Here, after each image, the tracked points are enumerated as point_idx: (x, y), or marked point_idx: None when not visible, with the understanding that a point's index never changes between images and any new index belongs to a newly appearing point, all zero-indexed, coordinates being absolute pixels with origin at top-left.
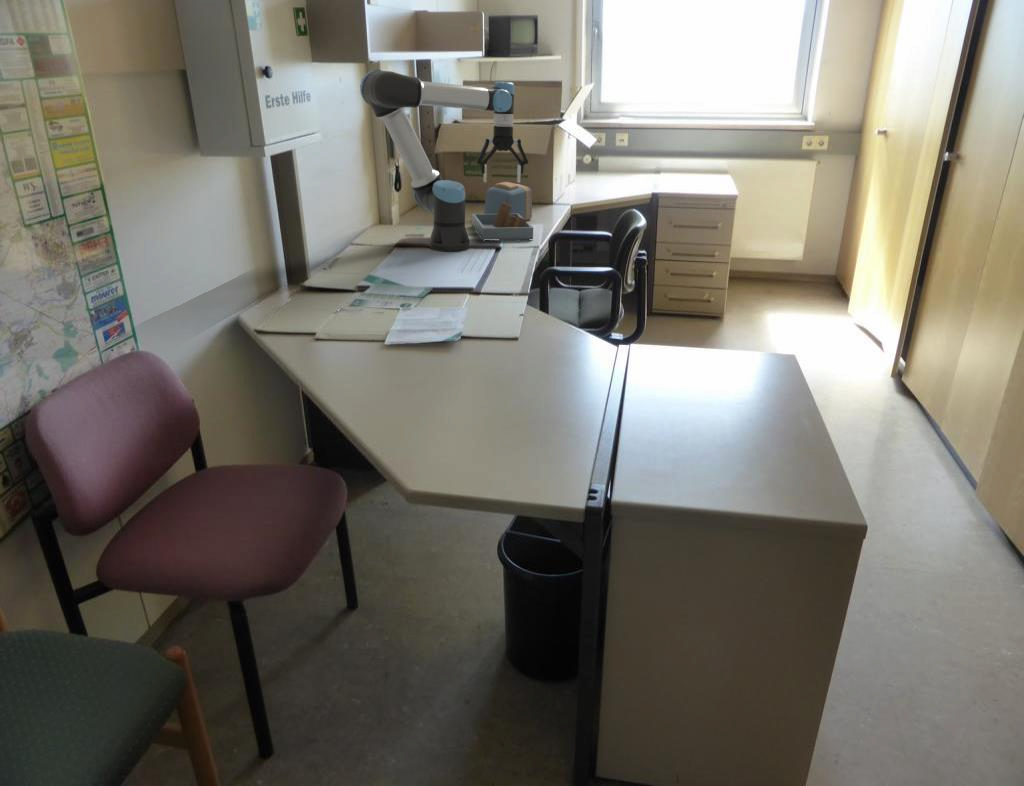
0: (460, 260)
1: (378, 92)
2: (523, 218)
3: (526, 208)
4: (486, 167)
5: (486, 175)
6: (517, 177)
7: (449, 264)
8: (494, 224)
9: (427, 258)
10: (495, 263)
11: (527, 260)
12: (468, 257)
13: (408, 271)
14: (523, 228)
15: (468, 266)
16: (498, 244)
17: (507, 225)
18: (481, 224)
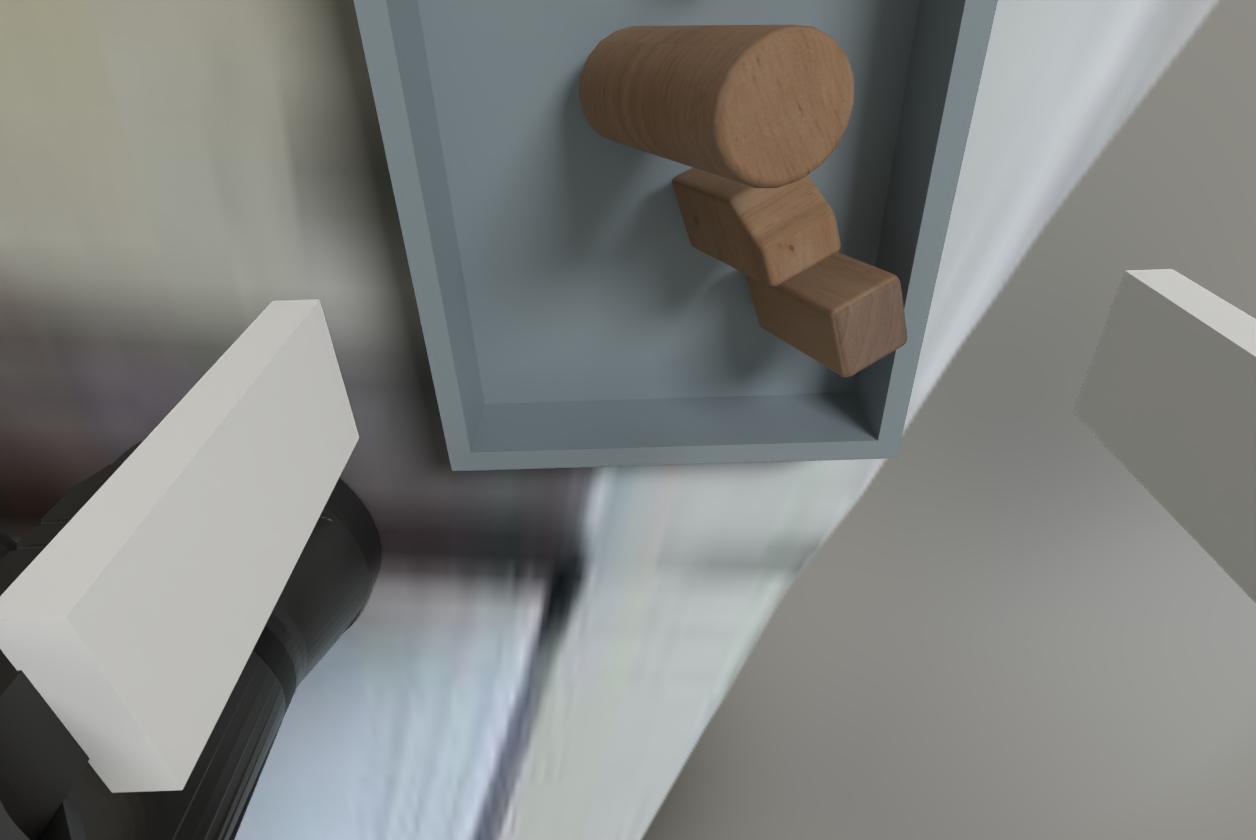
0: (356, 737)
1: None
2: (892, 306)
3: None
4: (204, 722)
5: (302, 543)
6: (1179, 356)
7: (312, 777)
8: (592, 122)
9: None
10: (523, 774)
11: (682, 748)
12: (391, 703)
13: None
14: (807, 455)
15: (401, 798)
16: (579, 492)
17: (712, 256)
18: (436, 328)
